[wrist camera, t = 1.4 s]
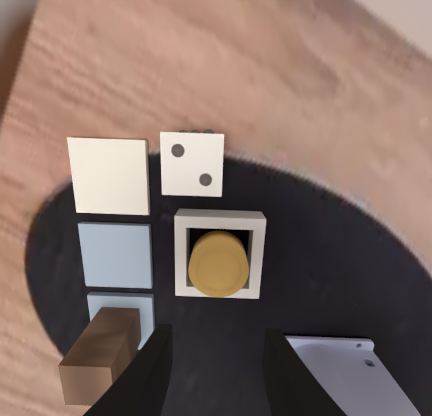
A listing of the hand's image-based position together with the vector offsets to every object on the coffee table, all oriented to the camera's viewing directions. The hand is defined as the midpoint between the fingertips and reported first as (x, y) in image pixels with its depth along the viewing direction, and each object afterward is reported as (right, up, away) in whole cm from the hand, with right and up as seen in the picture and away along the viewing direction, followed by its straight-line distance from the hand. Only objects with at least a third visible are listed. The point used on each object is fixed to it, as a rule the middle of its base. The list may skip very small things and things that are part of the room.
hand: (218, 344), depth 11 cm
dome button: (0, +2, +9) cm, 9 cm away
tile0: (-9, -5, +12) cm, 16 cm away
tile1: (-9, +2, +10) cm, 14 cm away
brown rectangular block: (-9, -5, +12) cm, 16 cm away
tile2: (-9, +9, +9) cm, 15 cm away
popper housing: (0, +3, +10) cm, 10 cm away
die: (-2, +10, +8) cm, 13 cm away
